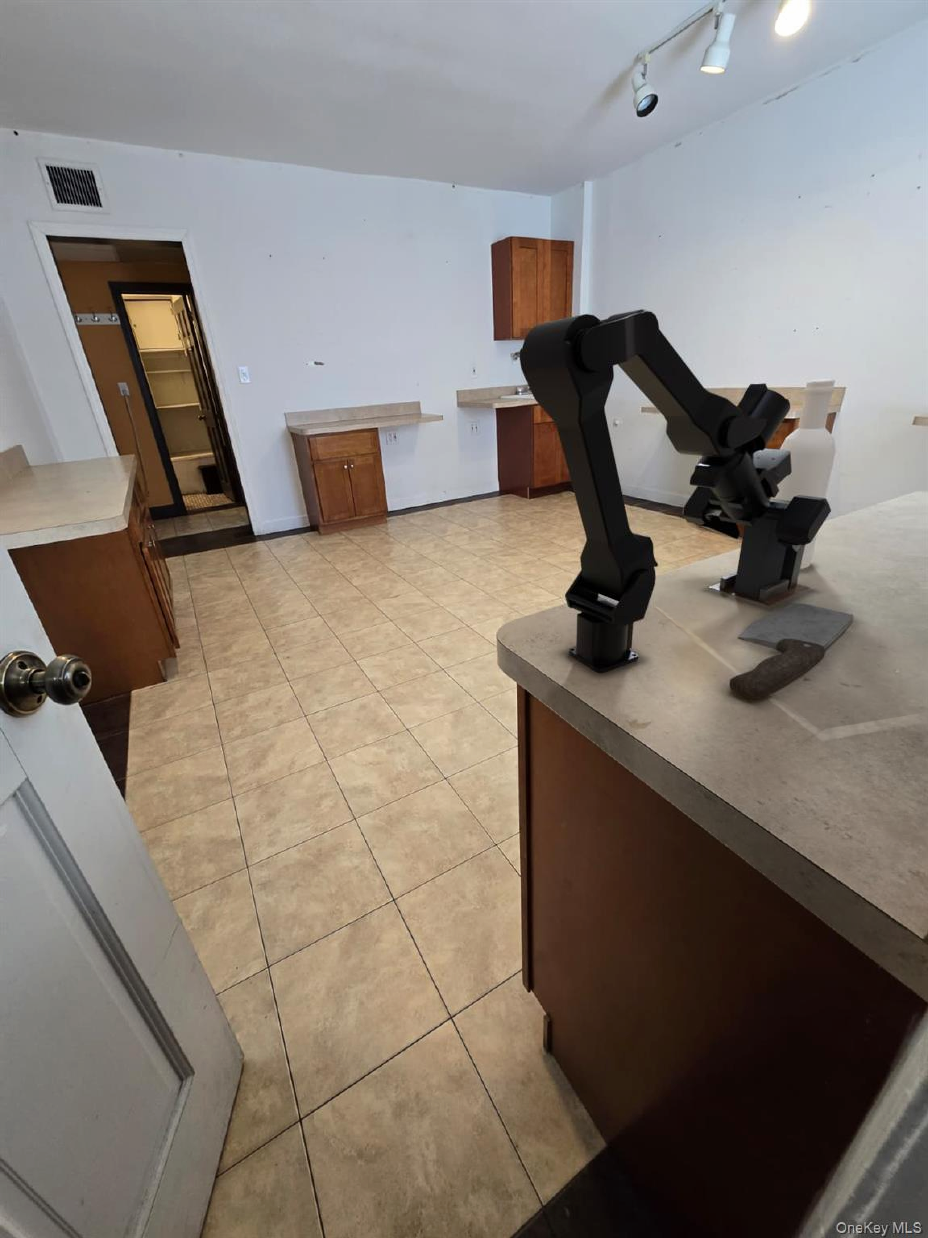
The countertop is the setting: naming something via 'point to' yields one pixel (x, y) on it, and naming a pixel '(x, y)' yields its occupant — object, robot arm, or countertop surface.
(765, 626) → the cleaver
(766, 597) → the pad mount
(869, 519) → the countertop surface
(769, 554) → the back pad
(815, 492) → the bottle
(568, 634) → the countertop surface
